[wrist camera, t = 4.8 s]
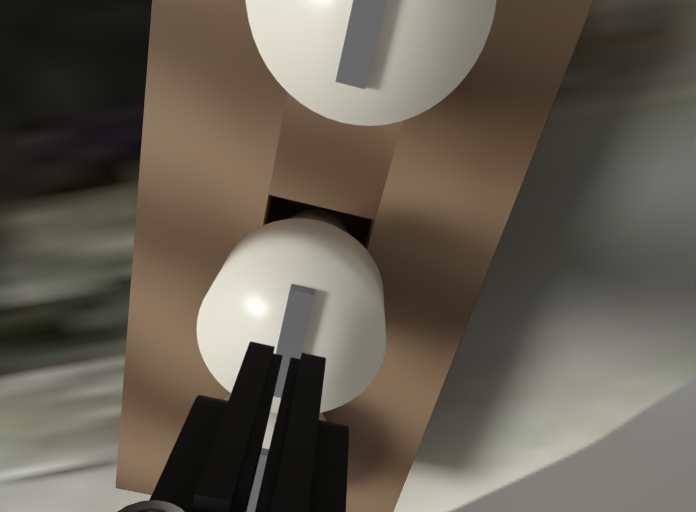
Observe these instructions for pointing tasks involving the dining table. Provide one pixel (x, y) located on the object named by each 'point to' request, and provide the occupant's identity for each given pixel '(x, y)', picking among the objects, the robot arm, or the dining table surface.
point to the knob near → (370, 52)
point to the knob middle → (298, 305)
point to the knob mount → (333, 196)
